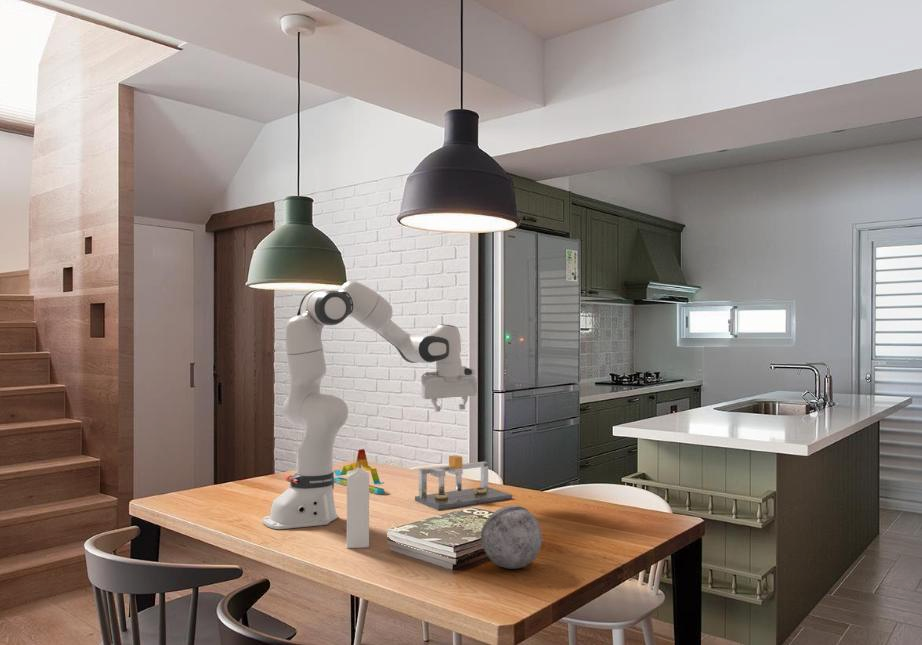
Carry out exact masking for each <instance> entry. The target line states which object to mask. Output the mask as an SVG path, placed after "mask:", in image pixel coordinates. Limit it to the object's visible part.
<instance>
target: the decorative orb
mask: <svg viewBox="0 0 922 645" xmlns="http://www.w3.org/2000/svg"><path fill="white" fill-rule="evenodd" d="M480 541H481V544H482V548H483V550H484V552H485V554H486V556H487V557H488V558H489V559H490V561H492V562H493V563H494V564H495V565H497V566H499V567H500V568H505V569H508V570H509V569H510V570H513V569H515V570H516V569H521V568H524V567H526V566H527V565H530V563H532V562H533V561H534V560H535V559H536V557H537V556H538V554H539V553H540V551H541V547H542V542H543V533H542V528H541V526H540V523H539V520H538V519H537V518H536V517H535V515H534V514H533V513H531V512H530V511H529V510H528V509H527V508H525V507H523V506H520V505H509V506H504V507H501V508H498V509H496V511H494V512H493V513H491V515H490V516H488V517H487V519H486V521H485V522H484V523H483V526H482V528H481V531H480Z"/></svg>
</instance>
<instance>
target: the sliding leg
mask: <svg viewBox="0 0 922 645" xmlns="http://www.w3.org/2000/svg"><path fill="white" fill-rule="evenodd" d="M462 464H463V456H460V455H456V454H454V455H448V466H449V467H448V471H447V472H448V474H450V475H454V476H455V491H462V490H463V489H462V488H463V487H462V486H463V484H462V483H463V481H462V480H463V478H462V477H463V476H462V475H463V470H464V469H463V468H462Z"/></svg>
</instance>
